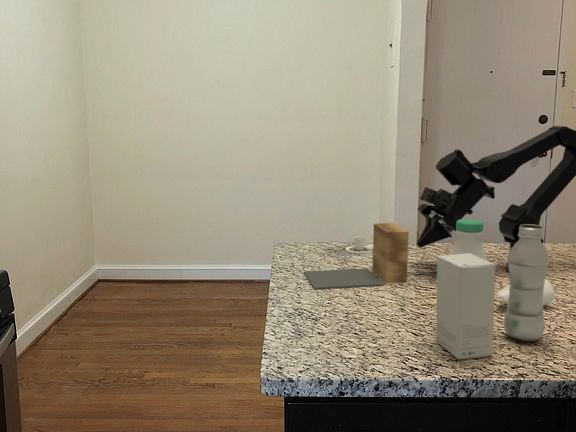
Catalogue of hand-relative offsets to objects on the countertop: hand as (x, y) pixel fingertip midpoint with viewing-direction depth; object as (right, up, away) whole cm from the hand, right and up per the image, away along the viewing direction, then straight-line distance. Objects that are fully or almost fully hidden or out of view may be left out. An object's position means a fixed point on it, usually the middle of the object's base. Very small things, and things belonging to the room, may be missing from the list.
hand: (418, 246), depth 139 cm
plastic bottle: (+10, -14, -36) cm, 40 cm away
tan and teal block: (-7, -7, 0) cm, 10 cm away
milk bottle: (+1, -14, -31) cm, 34 cm away
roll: (+16, -12, -21) cm, 29 cm away
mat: (-18, -8, -2) cm, 20 cm away
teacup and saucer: (-9, -3, +24) cm, 26 cm away
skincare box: (-2, -15, -41) cm, 44 cm away
